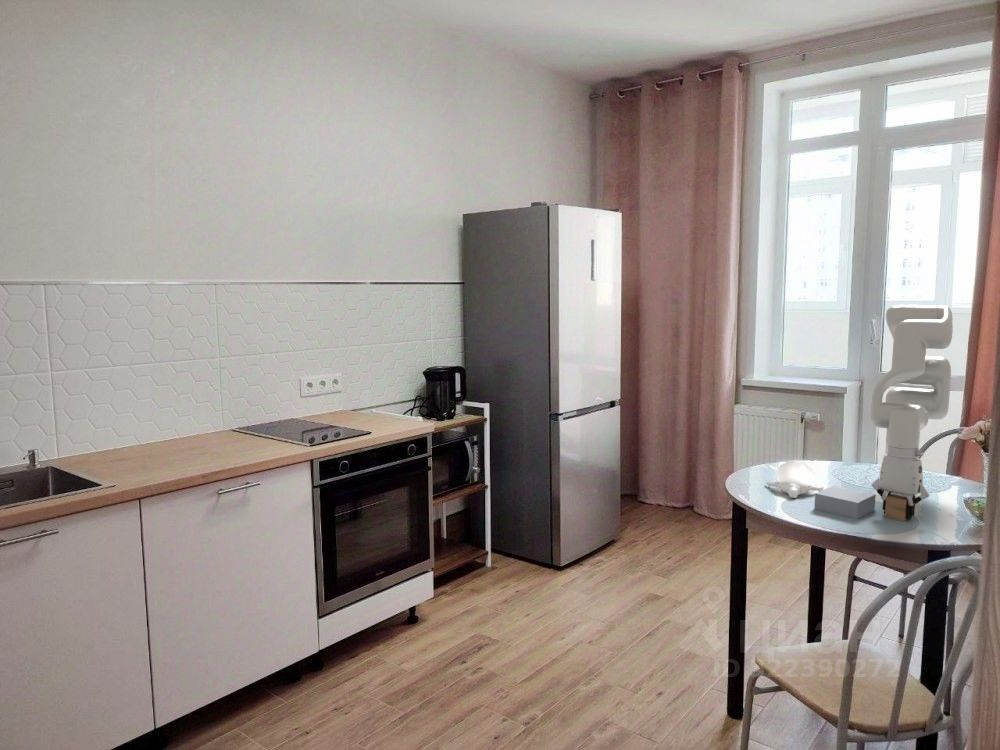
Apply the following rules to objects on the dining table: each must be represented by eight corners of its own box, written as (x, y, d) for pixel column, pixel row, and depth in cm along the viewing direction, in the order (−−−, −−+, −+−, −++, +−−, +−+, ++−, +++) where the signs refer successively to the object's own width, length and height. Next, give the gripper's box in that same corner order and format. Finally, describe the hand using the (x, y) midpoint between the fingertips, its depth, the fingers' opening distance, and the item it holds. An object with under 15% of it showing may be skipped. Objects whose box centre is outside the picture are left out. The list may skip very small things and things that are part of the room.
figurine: (769, 476, 239) (763, 497, 217) (770, 451, 238) (764, 470, 216) (823, 481, 232) (822, 504, 210) (825, 456, 231) (824, 476, 208)
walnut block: (891, 513, 199) (893, 493, 199) (910, 517, 196) (912, 496, 195) (884, 517, 196) (886, 496, 195) (904, 521, 192) (905, 500, 192)
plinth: (833, 501, 212) (833, 485, 211) (874, 511, 203) (875, 494, 202) (814, 509, 204) (815, 493, 203) (856, 520, 195) (857, 502, 194)
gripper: (941, 455, 189) (936, 520, 192) (875, 445, 202) (871, 505, 205) (931, 460, 185) (926, 526, 187) (864, 449, 198) (860, 511, 200)
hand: (898, 514), depth 196 cm, fingers closed on walnut block, 5 cm apart
